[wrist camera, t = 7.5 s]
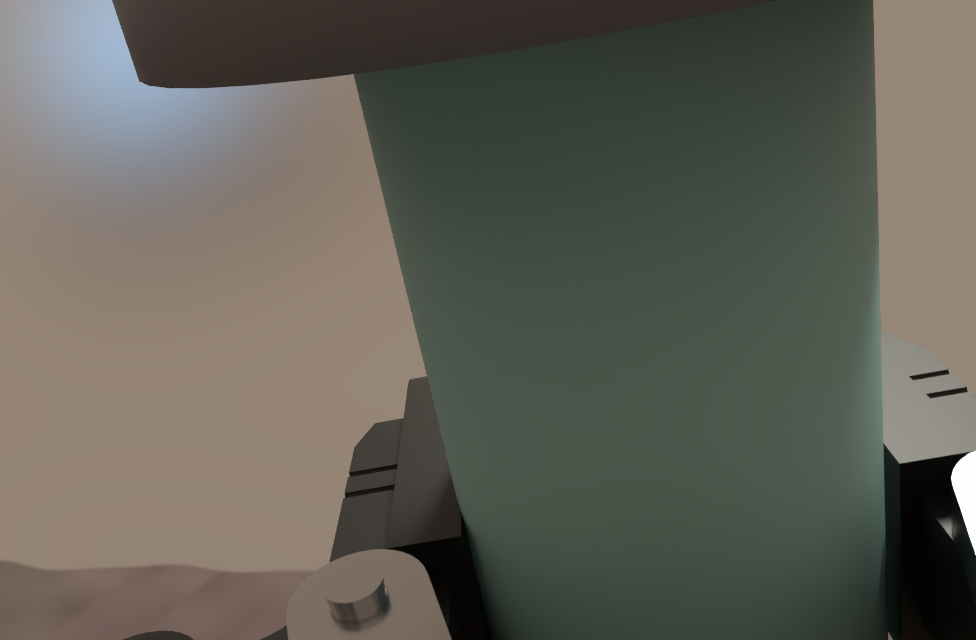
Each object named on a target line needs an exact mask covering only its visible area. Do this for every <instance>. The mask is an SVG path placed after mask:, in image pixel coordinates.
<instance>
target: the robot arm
mask: <svg viewBox="0 0 976 640" xmlns="http://www.w3.org/2000/svg"><path fill="white" fill-rule="evenodd" d="M881 361H882V404H883V446H884V489H885V532H886V575H887V618H888V632H889V633H890V635H891V637H892V639H893V640H976V395H974V394H973V393H972V392H968V391H967V387H966V386H965V385H964V384H963V383H962V382H961V381H960V380H959V379H958V378H957V377H955V375H954V374H949V372H948V369H947V368H946V367H945V366H944V365H943V364H942V363H941V362H940V361H939V360H938V359H937V358H936V357H935V356H934V355H933V354H932V353H931V352H929V351H928V350H927V349H926V348H924V347H922V346H919V345H917V344H915V343H912V342H910V341H907V340H905V339H903V338H900V337H898V336H895V335H893V334H891V333H889V334H883V335H881ZM349 474H350V477H348V480H347V484H346V489H345V498H344V499H343V503H342V507H341V512H340V517H339V521H338V526H337V531H336V535H335V539H334V544H333V549H332V553H331V558H330V562H329V563H328V564H326V565H325V566H323V567H321V568H320V569H318V570H317V571H315V572H314V573H313V574H312V575H310V576H309V577H308V578H307V579H306V580H305V581H304V582H303V583H302V584H301V585H300V586H299V587H298V588H297V590H296V591H295V593H294V594H293V596H292V598H291V600H290V602H289V604H288V607H287V611H286V624H287V625H286V626H285V627H283V628H282V629H280V630H279V631H277V632H275V633H273V634H271V635H270V636H268V637H265V638H263V639H261V640H492V636H491V632H490V628H489V624H488V620H487V616H486V611H485V607H484V603H483V599H482V595H481V591H480V587H479V583H478V579H477V574H476V570H475V566H474V562H473V558H472V554H471V550H470V546H469V541H468V537H467V533H466V529H465V525H464V521H463V517H462V513H461V509H460V506H459V503H458V500H457V497H456V493H455V489H454V484H453V480H452V476H451V472H450V468H449V464H448V460H447V456H446V452H445V447H444V443H443V439H442V435H441V431H440V427H439V423H438V419H437V415H436V411H435V406H434V402H433V398H432V394H431V390H430V386H429V382H428V378H427V376H426V377H421V378H415V379H410V380H409V383H408V390H407V398H406V406H405V413H404V418H403V419H397V420H391V421H385V422H380V423H375V424H374V425H373V426H372V428H371V429H370V430H369V431H368V432H367V433H366V435H365V436H364V437H363V438H362V439H361V441H360V442H359V443H358V444H357V445H356V446H355V448H354V452H353V458H352V462H351V466H350V471H349ZM124 640H193V639H192V638H191V637H189V636H187V635H185V634H182V633H179V632H173V631H155V632H147V633H143V634H139V635H135V636H132V637H129V638H126V639H124Z"/></svg>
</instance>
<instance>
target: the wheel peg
mask: <svg viewBox="0 0 976 640" xmlns="http://www.w3.org/2000/svg"><path fill="white" fill-rule="evenodd" d="M112 1H113V4H114V7H115V10H116V13H117V16H118V19H119V22H120V25H121V28H122V30H123V33H124V37H125V40H126V43H127V46H128V49H129V52H130V55H131V58H132V61H133V64H134V67H135V70H136V73H137V76H138V79H139V81H140V82H142V83H144V84H147V85H149V86H157V87H165V88H213V87H228V86H246V85H259V84H269V83H279V82H288V81H298V80H309V79H317V78H325V77H334V76H342V75H349V74H354V78H355V82H356V86H357V90H358V94H359V98H360V102H361V106H362V111H363V115H364V119H365V123H366V127H367V131H368V135H369V139H370V143H371V148H372V152H373V156H374V160H375V164H376V168H377V172H378V176H379V180H380V185H381V189H382V192H383V197H384V201H385V205H386V209H387V213H388V217H389V222H390V226H391V230H392V234H393V238H394V242H395V246H396V250H397V254H398V258H399V263H400V267H401V271H402V275H403V279H404V283H405V287H406V291H407V295H408V300H409V304H410V308H411V312H412V315H413V320H414V324H415V328H416V332H417V337H418V341H419V345H420V349H421V353H422V357H423V361H424V365H425V369H426V373H427V378H428V382H429V386H430V390H431V394H432V398H433V402H434V406H435V411H436V415H437V419H438V423H439V427H440V431H441V435H442V439H443V443H444V447H445V452H446V456H447V460H448V464H449V468H450V472H451V476H452V480H453V484H454V489H455V493H456V497H457V500H458V503H459V506H460V509H461V513H462V517H463V521H464V525H465V529H466V533H467V537H468V541H469V546H470V550H471V554H472V558H473V562H474V566H475V570H476V574H477V579H478V583H479V587H480V591H481V595H482V599H483V603H484V607H485V611H486V616H487V620H488V624H489V628H490V632H491V636H492V640H888V618H887V575H886V532H885V489H884V446H883V404H882V361H881V321H880V320H881V318H880V279H879V278H880V275H879V233H878V189H877V150H876V149H877V146H876V106H875V61H874V20H873V19H874V18H873V0H112Z"/></svg>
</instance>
